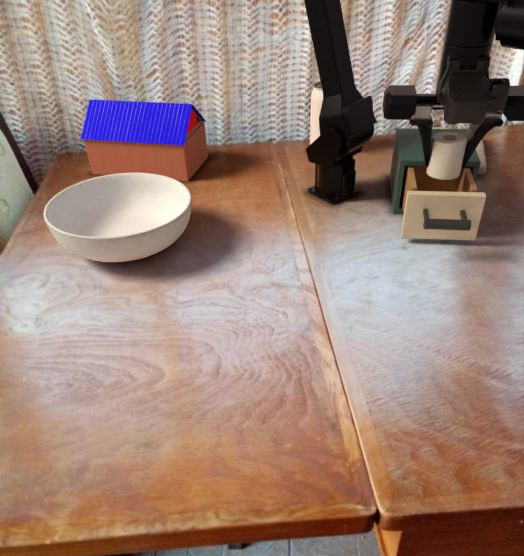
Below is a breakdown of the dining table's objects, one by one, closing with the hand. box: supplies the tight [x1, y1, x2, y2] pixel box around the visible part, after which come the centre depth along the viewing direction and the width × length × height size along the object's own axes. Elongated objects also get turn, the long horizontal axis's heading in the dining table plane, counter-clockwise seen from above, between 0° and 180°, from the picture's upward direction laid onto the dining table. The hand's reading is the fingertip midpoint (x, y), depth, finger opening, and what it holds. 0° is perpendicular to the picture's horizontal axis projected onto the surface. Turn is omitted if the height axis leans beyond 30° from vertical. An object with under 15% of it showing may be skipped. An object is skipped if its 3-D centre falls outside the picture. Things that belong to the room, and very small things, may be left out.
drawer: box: [400, 166, 487, 241], centre depth 78 cm, size 17×10×7 cm, turn 172°
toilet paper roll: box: [427, 132, 467, 180], centre depth 75 cm, size 5×5×5 cm
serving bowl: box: [43, 173, 193, 263], centre depth 80 cm, size 21×21×7 cm
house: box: [80, 98, 209, 182], centre depth 100 cm, size 12×20×12 cm, turn 76°
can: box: [309, 81, 323, 145], centre depth 103 cm, size 6×6×12 cm
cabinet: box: [389, 127, 481, 214], centre depth 87 cm, size 14×12×9 cm
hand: (444, 166), depth 76 cm, fingers closed on toilet paper roll, 4 cm apart
